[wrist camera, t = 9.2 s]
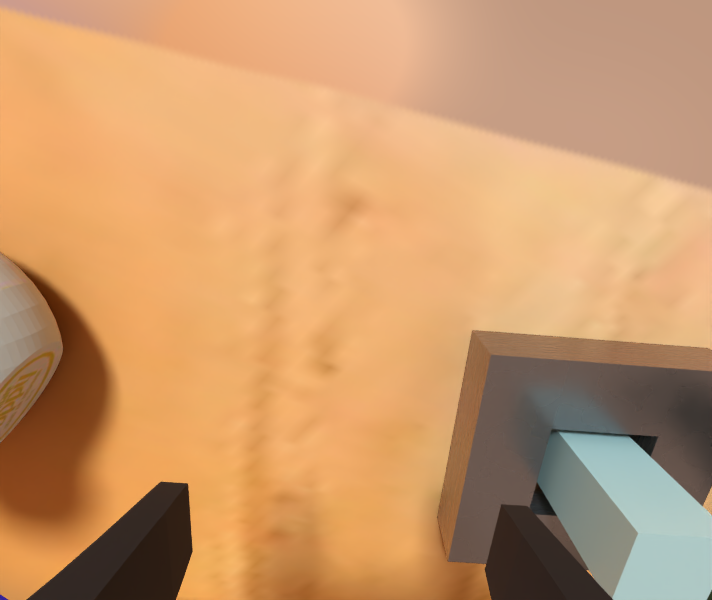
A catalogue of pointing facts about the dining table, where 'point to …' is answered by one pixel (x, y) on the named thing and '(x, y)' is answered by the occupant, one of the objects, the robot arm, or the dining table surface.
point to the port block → (566, 423)
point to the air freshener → (23, 345)
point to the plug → (628, 517)
